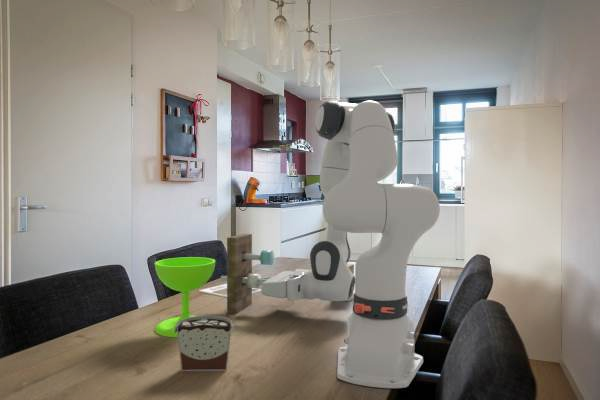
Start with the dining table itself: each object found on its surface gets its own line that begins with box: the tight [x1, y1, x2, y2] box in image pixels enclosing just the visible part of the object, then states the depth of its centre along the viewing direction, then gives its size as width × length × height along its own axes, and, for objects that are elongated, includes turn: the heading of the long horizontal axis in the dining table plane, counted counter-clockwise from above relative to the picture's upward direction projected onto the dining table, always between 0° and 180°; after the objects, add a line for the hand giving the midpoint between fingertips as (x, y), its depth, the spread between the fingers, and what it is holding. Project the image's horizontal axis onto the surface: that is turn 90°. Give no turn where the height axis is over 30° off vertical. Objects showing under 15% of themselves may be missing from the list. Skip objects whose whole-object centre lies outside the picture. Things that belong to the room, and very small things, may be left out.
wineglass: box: [154, 256, 216, 338], centre depth 119 cm, size 16×16×18 cm
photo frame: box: [198, 283, 262, 298], centre depth 161 cm, size 15×1×18 cm
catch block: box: [226, 233, 253, 315], centre depth 138 cm, size 3×12×23 cm, turn 163°
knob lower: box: [220, 273, 262, 289], centre depth 138 cm, size 13×4×4 cm, turn 73°
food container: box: [174, 314, 235, 372], centre depth 93 cm, size 12×6×10 cm, turn 92°
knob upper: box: [242, 249, 275, 266], centre depth 136 cm, size 13×4×4 cm, turn 73°
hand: (258, 280), depth 136 cm, fingers closed, pressing on knob lower
